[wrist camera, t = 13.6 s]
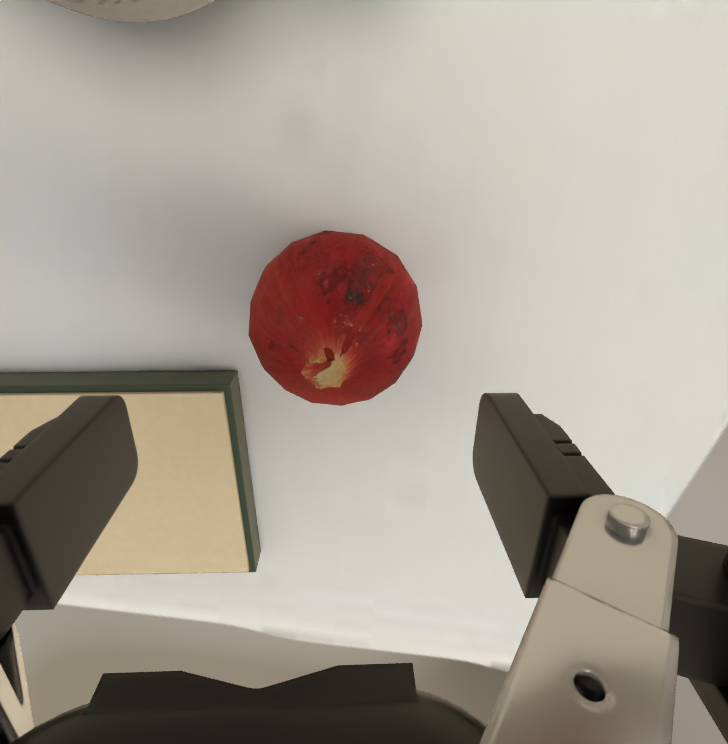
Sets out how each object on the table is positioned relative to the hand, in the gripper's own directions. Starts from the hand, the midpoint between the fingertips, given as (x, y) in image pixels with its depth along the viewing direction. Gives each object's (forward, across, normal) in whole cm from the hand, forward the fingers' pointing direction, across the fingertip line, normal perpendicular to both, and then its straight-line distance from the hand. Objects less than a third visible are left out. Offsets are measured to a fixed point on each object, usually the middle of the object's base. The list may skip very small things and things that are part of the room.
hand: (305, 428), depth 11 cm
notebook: (+10, +11, +9) cm, 17 cm away
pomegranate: (+10, -1, -1) cm, 10 cm away
